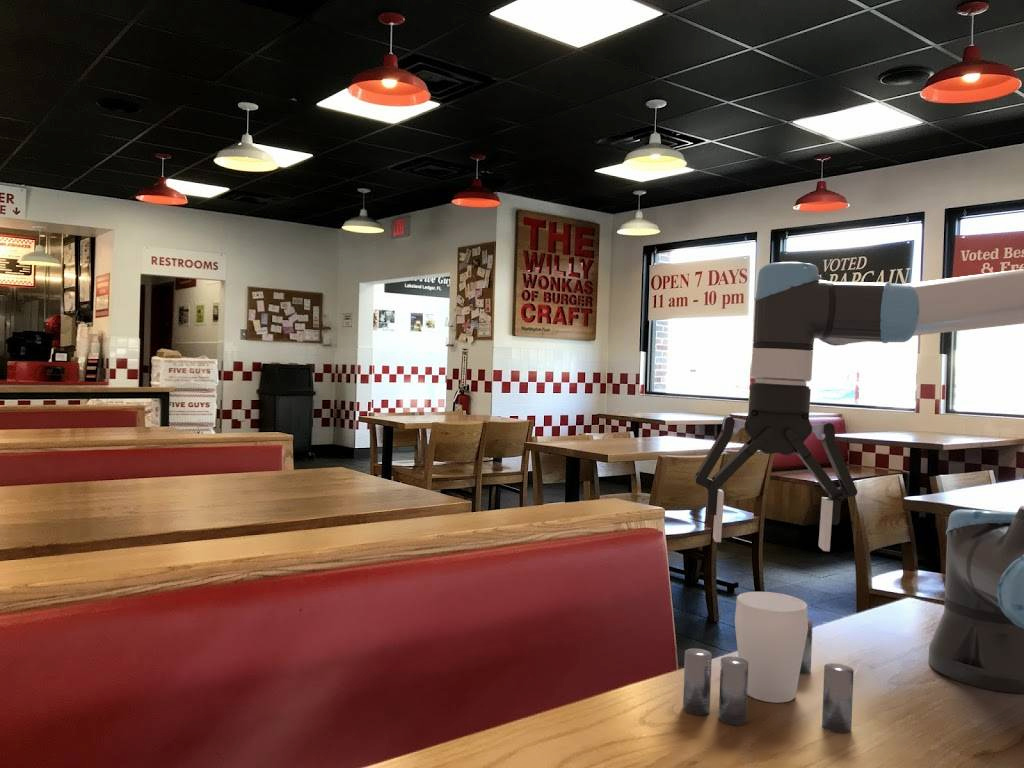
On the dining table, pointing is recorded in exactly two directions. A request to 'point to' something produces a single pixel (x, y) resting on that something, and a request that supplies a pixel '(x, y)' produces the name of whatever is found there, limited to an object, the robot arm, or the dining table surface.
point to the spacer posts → (736, 687)
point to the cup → (771, 643)
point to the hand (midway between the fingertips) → (769, 544)
